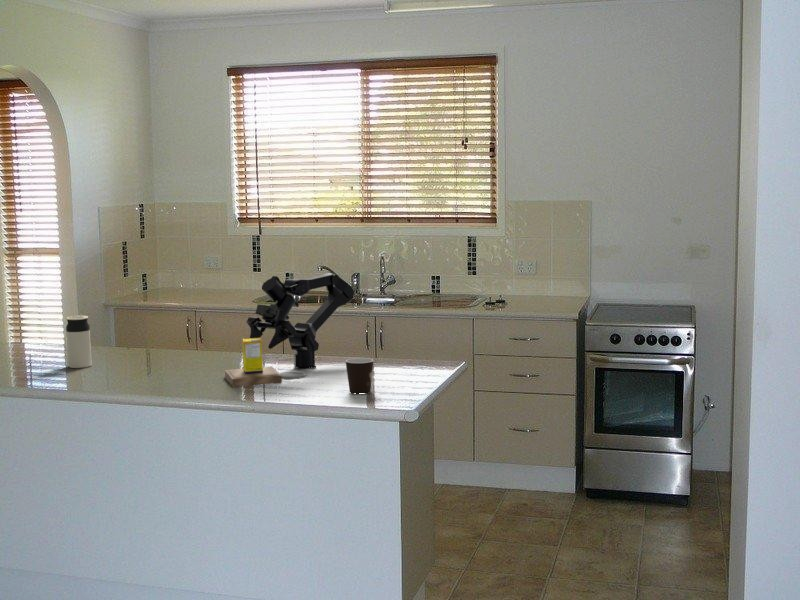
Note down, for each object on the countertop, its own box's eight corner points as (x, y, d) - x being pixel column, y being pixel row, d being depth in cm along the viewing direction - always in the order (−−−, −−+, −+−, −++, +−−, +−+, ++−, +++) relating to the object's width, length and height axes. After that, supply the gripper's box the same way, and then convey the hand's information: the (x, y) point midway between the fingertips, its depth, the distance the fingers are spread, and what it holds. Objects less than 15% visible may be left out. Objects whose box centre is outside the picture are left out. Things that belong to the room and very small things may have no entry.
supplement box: (261, 369, 320) (260, 337, 318) (263, 373, 314) (262, 340, 313) (243, 370, 318) (242, 338, 317) (244, 374, 312) (243, 341, 311)
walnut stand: (272, 373, 326) (271, 365, 326) (281, 382, 311) (281, 374, 311) (225, 377, 321) (224, 369, 321) (232, 387, 306) (232, 378, 306)
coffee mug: (363, 396, 290) (363, 364, 289) (340, 393, 295) (340, 361, 293) (384, 389, 300) (384, 357, 299) (361, 386, 304) (361, 355, 303)
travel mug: (77, 369, 339) (74, 319, 336) (64, 367, 343) (60, 317, 341) (96, 365, 345) (93, 316, 343) (83, 363, 350) (80, 314, 347)
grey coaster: (301, 372, 327) (300, 370, 327) (307, 377, 319) (307, 375, 318) (275, 374, 324) (275, 373, 324) (280, 379, 316) (280, 378, 316)
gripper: (248, 293, 325) (226, 330, 318) (288, 296, 314) (266, 335, 307) (266, 312, 332) (244, 349, 325) (306, 317, 321) (284, 355, 314)
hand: (259, 346), depth 318 cm, fingers open, 9 cm apart
